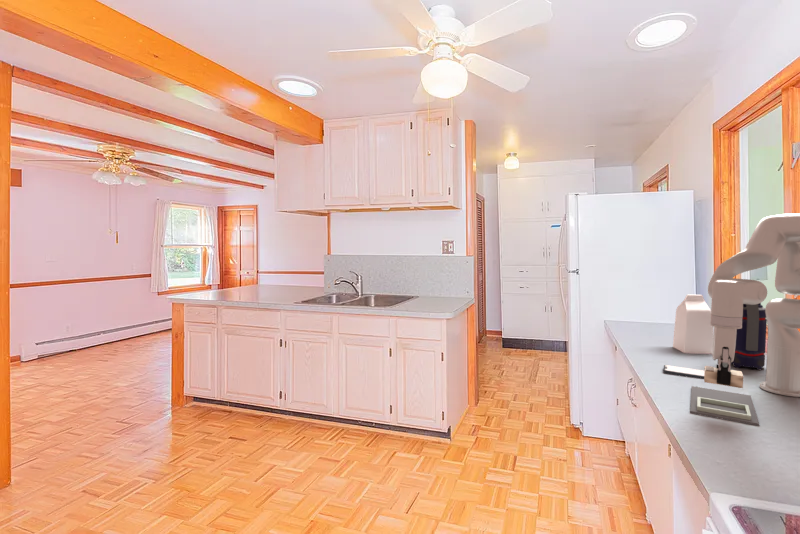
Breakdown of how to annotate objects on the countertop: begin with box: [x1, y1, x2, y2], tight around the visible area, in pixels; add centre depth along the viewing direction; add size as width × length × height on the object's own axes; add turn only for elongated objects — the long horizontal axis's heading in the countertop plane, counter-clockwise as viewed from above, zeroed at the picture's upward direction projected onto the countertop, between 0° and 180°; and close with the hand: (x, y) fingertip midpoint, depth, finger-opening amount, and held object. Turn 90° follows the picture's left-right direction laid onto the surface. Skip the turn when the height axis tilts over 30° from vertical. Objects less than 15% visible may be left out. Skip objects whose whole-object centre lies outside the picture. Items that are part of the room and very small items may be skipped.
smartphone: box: [663, 364, 705, 380], centre depth 165 cm, size 9×2×16 cm
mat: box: [689, 385, 760, 427], centre depth 134 cm, size 26×16×1 cm, turn 145°
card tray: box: [697, 397, 751, 420], centre depth 129 cm, size 13×10×1 cm
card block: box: [703, 365, 744, 389], centre depth 128 cm, size 9×6×4 cm, turn 55°
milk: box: [672, 294, 714, 355], centre depth 198 cm, size 12×12×26 cm
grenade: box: [730, 302, 767, 371], centre depth 173 cm, size 14×12×30 cm
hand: (722, 380), depth 128 cm, fingers closed on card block, 6 cm apart
